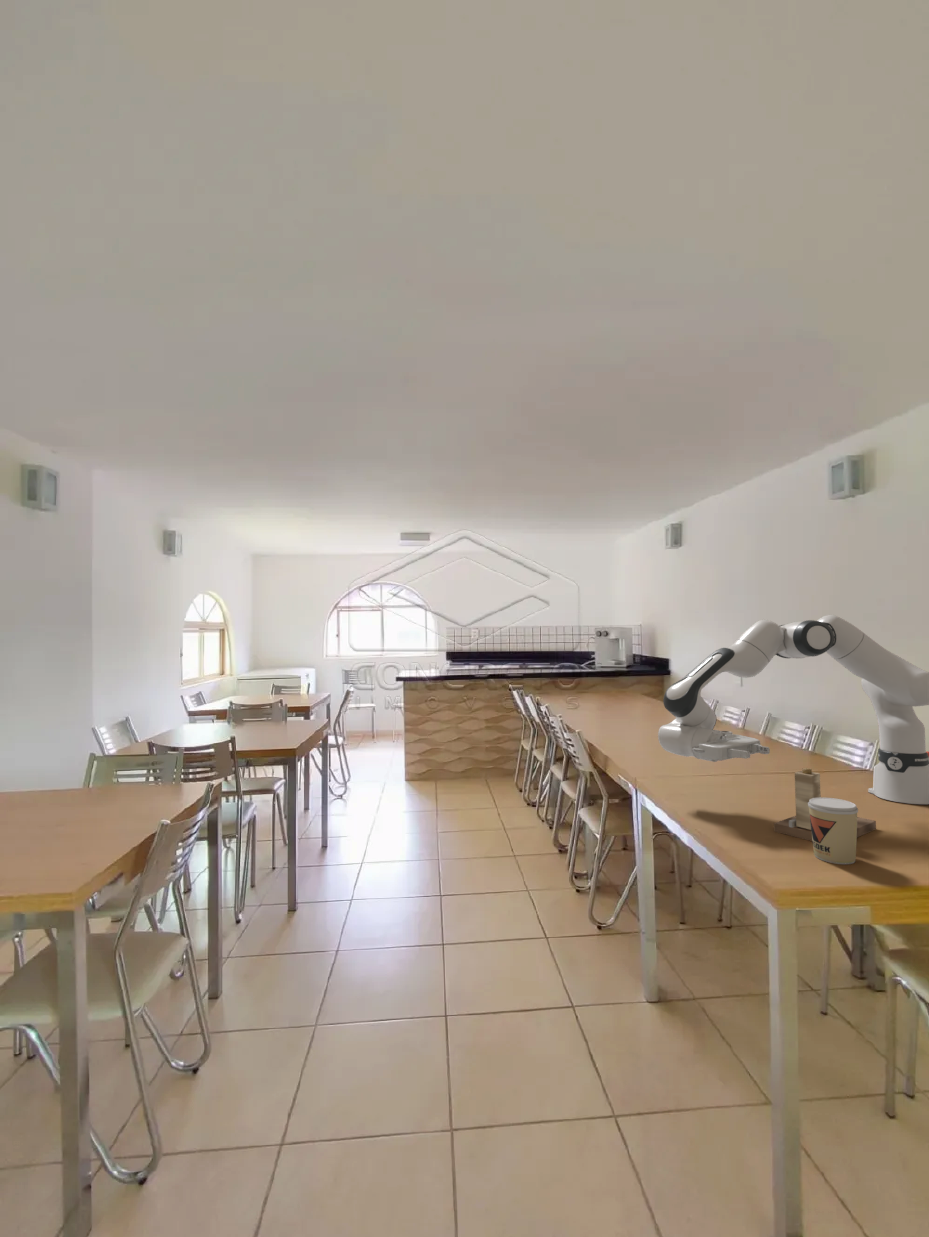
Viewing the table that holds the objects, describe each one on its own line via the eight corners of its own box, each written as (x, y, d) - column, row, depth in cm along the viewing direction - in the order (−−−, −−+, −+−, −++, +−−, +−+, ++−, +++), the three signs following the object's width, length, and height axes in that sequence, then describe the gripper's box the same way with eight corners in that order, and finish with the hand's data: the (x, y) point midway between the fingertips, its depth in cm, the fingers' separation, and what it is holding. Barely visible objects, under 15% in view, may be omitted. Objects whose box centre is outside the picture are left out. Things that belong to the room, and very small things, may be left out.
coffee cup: (800, 850, 132) (798, 797, 133) (839, 849, 133) (837, 796, 133) (828, 866, 123) (826, 809, 123) (870, 865, 124) (868, 807, 124)
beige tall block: (804, 823, 145) (802, 766, 145) (825, 828, 141) (823, 769, 141) (796, 826, 142) (794, 768, 143) (817, 831, 139) (815, 772, 139)
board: (817, 815, 158) (816, 802, 158) (876, 828, 147) (875, 814, 147) (774, 831, 146) (773, 817, 146) (834, 847, 134) (834, 831, 135)
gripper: (687, 737, 158) (736, 745, 147) (730, 730, 170) (778, 737, 158) (688, 760, 158) (736, 770, 147) (731, 752, 169) (779, 760, 158)
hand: (758, 752), depth 152 cm, fingers open, 8 cm apart
